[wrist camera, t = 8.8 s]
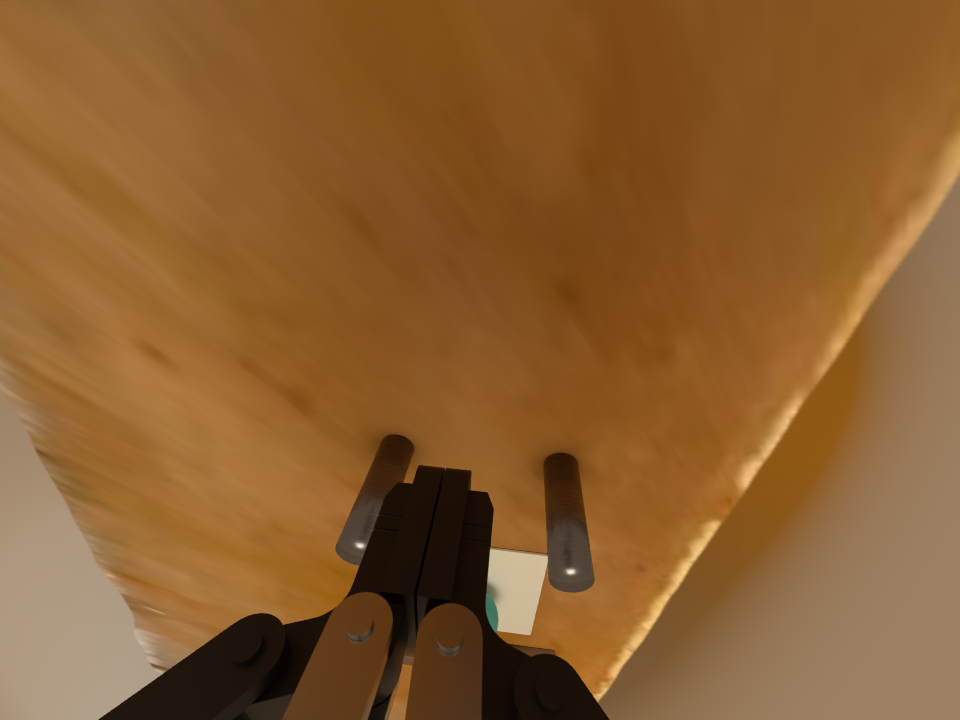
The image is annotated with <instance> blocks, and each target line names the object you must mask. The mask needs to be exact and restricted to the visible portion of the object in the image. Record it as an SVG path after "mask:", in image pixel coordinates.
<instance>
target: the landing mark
mask: <svg viewBox="0 0 960 720" xmlns="http://www.w3.org/2000/svg"><path fill="white" fill-rule="evenodd" d="M547 562H548V554H542V553H534V552H526V551H518V550H510V549H502V548H493V547H490V558H489V569H488V581H487V592H488V593H489V594H490V596H491V597H492V598H493V600H494V602H495V604H496V607H497V611H498V628H497V631H502V632H510V633H517V634H525V635H531V631H532V626H533V622H534V618H535V614H536V609H537V605H538V601H539V597H540V592H541V588H542V584H543V580H544V575H545V571H546V567H547Z"/></svg>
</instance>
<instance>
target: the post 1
mask: <svg viewBox="0 0 960 720" xmlns="http://www.w3.org/2000/svg"><path fill="white" fill-rule="evenodd" d="M413 452H414V447H413V445H412V443H411V442H410V441H409V440H408V439H407V438H405V437H403V436H400V435H389V436H387V437H385V438H384V439H383V440H382V442H381V444H380V447H379V449H378V451H377V453H376V456H375V458H374V460H373V463H372V465H371V467H370V469H369V472H368V474H367V476H366V478H365V481H364V483H363V485H362V488H361V490H360V492H359V494H358V497H357V499H356V501H355V503H354V506H353V508H352V510H351V513H350V515H349V517H348V519H347V522H346V524H345V526H344V528H343V531H342V533H341V535H340V537H339V540H338V542H337V544H336V552H337V554H338V555H339V556H340V557H341V558H342V559H343V560H345V561H347V562H349V563H351V564H354V565H360V564H361V561H362V558H363V555H364V553H365V550H366V547H367V544H368V542H369V539H370V536H371V533H372V531H373V529H374V525H375V523H376V520H377V517H378V516H379V512H380V509H381V506H382V503H383V501H384V498H385V496H386V495H387V494H388V493H389V491H390V490H391V489H392V488H393V487H394V486H395V485H396V484H397V483H398V482H401V483H403V482H404V479H405V476H406V473H407V470H408V467H409V464H410V461H411V458H412V455H413Z"/></svg>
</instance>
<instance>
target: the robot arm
mask: <svg viewBox="0 0 960 720" xmlns="http://www.w3.org/2000/svg"><path fill="white" fill-rule="evenodd" d="M493 511H494V508H493V506H492V503H491V500H490V498H489V495H488V492H480V491H471V471H469V470H460V469H451V468H446V470H445V468H441V467H432V466H423V465H419V466H418V468H417V471H416V475H415V478H414V481H413V484H409V483H401V482H398V483H397V484H396V485H395V486H394V487H393V488H392V489H391V490H390V491H389V493H388V494H387V495H386V496H385V498H384V501H383V503H382V506H381V509H380V512H379V516H378V517H377V520H376V523H375V525H374V529H373V531H372V533H371V536H370V539H369V542H368V544H367V547H366V550H365V553H364V555H363V558H362V561H361V564H360V566H359V569H358V572H357V574H356V577H355V580H354V583H353V585H352V587H351V590H350V591H349V593H348V595H347V596H346V597H345V599H344V600H343V601H342V602H340V603H339V604H338V606H337V607H335V608H334V609H333V610H331V611H330V612H328V613H326V614H324V615H322V616H319V617H316V618H312V619H308V620H303V621H299V622H294V623H290V624H285V625H282V623H281V621H280V620H279V619H278V618H276V617H275V616H273V615H271V614H266V613H259V614H253V615H250V616H247V617H245V618H243V619H240V620H239V621H237V622H236V623H234V624H233V625H231V626H230V627H228V628H227V629H226V630H224V631H223V632H221V633H220V634H219V635H217V636H216V637H214V638H213V639H212V640H210V641H209V642H207V643H206V644H204V645H203V646H202V647H200V648H199V649H197V650H196V651H195V652H193V653H192V654H190V655H189V656H188V657H186V658H185V659H183V660H182V661H180V662H179V663H178V664H176V665H175V666H173V667H172V668H171V669H169V670H168V671H166V672H165V673H164V674H162V675H161V676H159V677H158V678H157V679H155V680H154V681H152V682H151V683H149V684H148V685H147V686H145V687H144V688H142V689H141V690H140V691H138V692H137V693H135V694H134V695H132V696H131V697H130V698H128V699H127V700H125V701H124V702H123V703H121V704H120V705H118V706H117V707H116V708H114V709H113V710H111V711H110V712H108V713H107V714H106V715H104V716H103V717H101V718H100V719H99V720H388V719H389V716H390V713H391V709H392V706H393V702H394V699H395V695H396V692H397V688H398V684H399V677H400V673H401V668H402V664H403V659H404V655H405V650H406V647H410V648H415V653H414V660H413V667H412V674H411V681H410V689H409V696H408V703H407V710H406V717H405V720H609V718H608V717H607V715H606V714H605V713H604V711H603V710H602V708H601V707H600V705H599V704H598V703H597V701H596V700H595V698H594V697H593V695H592V694H591V692H590V691H589V690H588V688H587V687H586V685H585V684H584V682H583V681H582V680H581V678H580V677H579V675H578V674H577V672H576V671H575V670H574V669H573V667H572V666H571V665H570V664H569V663H567V662H566V661H565V660H563V659H562V658H560V657H558V656H556V655H552V654H545V653H544V654H537V655H534V656H532V657H531V656H529V655H527V654H525V653H524V652H522V651H520V650H518V649H516V648H515V647H513V646H511V645H509V644H508V643H506V642H505V641H503V640H502V639H501V638H500V637H499V636H498V635H497V634H496V633H495V631H494V630H493V628H492V627H491V625H490V623H489V620H488V617H487V614H486V592H487V581H488V569H489V558H490V546H491V534H492V523H493Z"/></svg>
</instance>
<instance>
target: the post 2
mask: <svg viewBox="0 0 960 720" xmlns="http://www.w3.org/2000/svg"><path fill="white" fill-rule="evenodd" d="M544 487H545V509H546V531H547V553H548V575H549V582H550V584H551V585H552V586H553V587H554V588H556V589H558V590H561V591H564V592H581V591H585V590H587V589H589V588H590V587H591V586H592V585H593V584H594V572H593V565H592V558H591V551H590V544H589V537H588V530H587V523H586V516H585V509H584V503H583V496H582V489H581V482H580V475H579V468H578V462H577V460H576V459H575V458H574V457H573V456H571V455H569V454H565V453H557V454H553V455H551V456H549V457H548V458H547V459H546V460H545V462H544Z"/></svg>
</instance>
